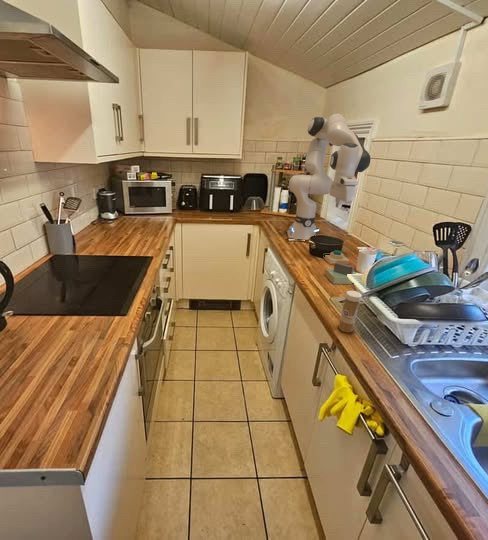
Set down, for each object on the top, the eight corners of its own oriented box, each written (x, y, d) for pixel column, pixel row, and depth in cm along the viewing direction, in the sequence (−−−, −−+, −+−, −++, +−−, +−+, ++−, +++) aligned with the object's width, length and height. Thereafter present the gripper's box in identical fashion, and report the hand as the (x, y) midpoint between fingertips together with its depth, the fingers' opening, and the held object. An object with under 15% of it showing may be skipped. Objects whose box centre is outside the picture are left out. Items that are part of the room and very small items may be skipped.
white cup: (374, 275, 142) (379, 255, 138) (356, 273, 143) (361, 253, 139) (369, 268, 149) (374, 250, 145) (352, 267, 150) (357, 248, 146)
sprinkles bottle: (336, 329, 99) (344, 293, 94) (341, 323, 103) (349, 288, 97) (350, 334, 97) (359, 298, 91) (354, 329, 100) (364, 293, 95)
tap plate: (323, 273, 142) (324, 267, 141) (348, 273, 143) (349, 267, 141) (333, 285, 131) (335, 278, 129) (361, 285, 131) (362, 278, 130)
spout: (333, 271, 137) (335, 262, 135) (335, 270, 139) (336, 261, 137) (350, 276, 132) (353, 267, 131) (352, 275, 134) (354, 266, 132)
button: (332, 253, 158) (332, 250, 157) (338, 253, 158) (339, 250, 158) (335, 255, 155) (335, 252, 154) (341, 255, 155) (342, 252, 154)
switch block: (322, 257, 162) (324, 250, 161) (340, 257, 163) (342, 250, 161) (330, 264, 153) (331, 257, 152) (349, 264, 154) (350, 257, 152)
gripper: (329, 176, 155) (324, 203, 161) (346, 181, 136) (340, 211, 142) (340, 177, 156) (335, 203, 161) (360, 182, 137) (353, 212, 142)
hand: (338, 207), depth 151 cm, fingers closed
